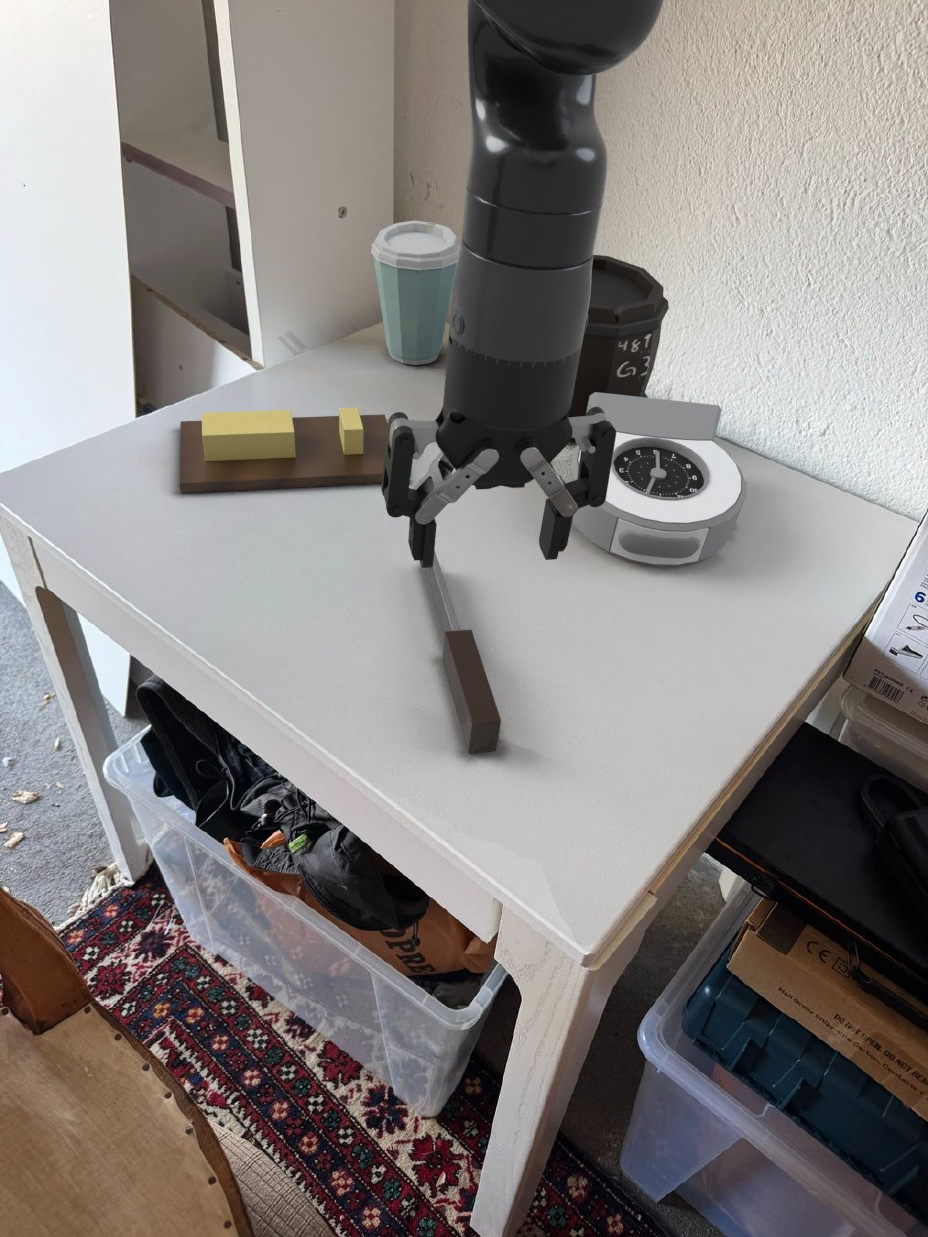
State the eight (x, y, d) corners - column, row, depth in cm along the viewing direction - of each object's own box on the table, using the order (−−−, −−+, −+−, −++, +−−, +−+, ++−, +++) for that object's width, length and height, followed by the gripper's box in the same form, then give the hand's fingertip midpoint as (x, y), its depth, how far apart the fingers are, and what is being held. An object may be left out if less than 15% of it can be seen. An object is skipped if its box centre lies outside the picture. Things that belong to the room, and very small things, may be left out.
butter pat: (344, 455, 96) (344, 429, 94) (339, 432, 100) (338, 407, 98) (363, 454, 97) (363, 428, 95) (357, 432, 100) (357, 407, 98)
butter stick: (205, 461, 93) (202, 435, 91) (204, 438, 97) (201, 412, 95) (295, 457, 95) (294, 431, 93) (292, 434, 98) (291, 409, 96)
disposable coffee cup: (432, 381, 113) (439, 257, 103) (354, 359, 115) (354, 236, 105) (466, 348, 120) (477, 230, 110) (392, 328, 123) (396, 211, 113)
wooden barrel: (517, 360, 119) (533, 235, 108) (654, 394, 115) (684, 267, 104) (468, 423, 106) (481, 288, 95) (620, 463, 102) (651, 327, 91)
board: (180, 493, 91) (178, 483, 90) (181, 430, 100) (180, 420, 99) (401, 482, 96) (402, 472, 95) (384, 423, 104) (384, 414, 103)
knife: (496, 751, 69) (501, 720, 67) (468, 754, 69) (472, 724, 67) (440, 569, 85) (442, 539, 83) (416, 570, 85) (418, 541, 83)
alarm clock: (738, 403, 96) (766, 525, 83) (716, 469, 102) (738, 592, 89) (573, 385, 96) (575, 504, 83) (561, 453, 102) (560, 573, 89)
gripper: (614, 299, 56) (570, 519, 67) (380, 298, 53) (373, 529, 64) (659, 355, 51) (603, 585, 61) (401, 358, 47) (390, 599, 58)
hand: (486, 556), depth 62 cm, fingers open, 8 cm apart
